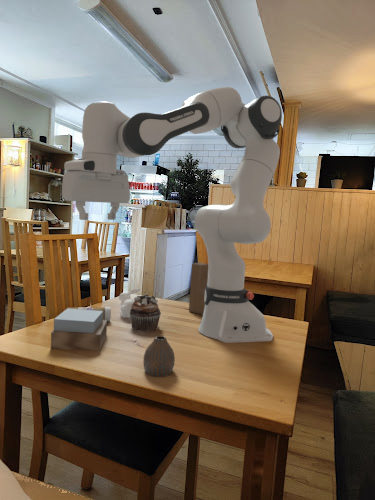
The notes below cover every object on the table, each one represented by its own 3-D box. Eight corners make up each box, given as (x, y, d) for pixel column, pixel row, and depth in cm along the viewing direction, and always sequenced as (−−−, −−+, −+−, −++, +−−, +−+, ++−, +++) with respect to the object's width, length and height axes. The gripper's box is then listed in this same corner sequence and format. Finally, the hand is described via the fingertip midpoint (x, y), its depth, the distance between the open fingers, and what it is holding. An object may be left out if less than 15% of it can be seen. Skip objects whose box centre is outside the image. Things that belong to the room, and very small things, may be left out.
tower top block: (102, 321, 102) (103, 311, 102) (93, 333, 93) (93, 321, 92) (66, 319, 102) (67, 308, 102) (53, 330, 93) (54, 319, 92)
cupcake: (122, 327, 113) (123, 295, 112) (144, 320, 121) (145, 291, 119) (144, 335, 107) (145, 301, 106) (166, 328, 115) (168, 296, 114)
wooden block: (215, 314, 134) (219, 265, 132) (207, 317, 130) (211, 266, 128) (195, 309, 140) (199, 262, 138) (188, 311, 136) (191, 263, 134)
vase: (169, 384, 78) (172, 345, 77) (138, 379, 79) (141, 340, 78) (176, 371, 85) (179, 334, 84) (147, 367, 86) (149, 330, 85)
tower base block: (106, 337, 104) (107, 320, 104) (99, 353, 93) (100, 334, 92) (63, 335, 103) (63, 318, 103) (50, 352, 92) (51, 332, 91)
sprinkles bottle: (66, 304, 114) (110, 303, 118) (66, 312, 117) (109, 311, 121) (66, 317, 111) (111, 316, 115) (66, 325, 114) (110, 323, 118)
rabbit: (116, 312, 128) (117, 286, 127) (136, 311, 131) (138, 285, 130) (123, 321, 119) (125, 292, 118) (145, 319, 122) (147, 291, 121)
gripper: (120, 170, 106) (118, 218, 108) (58, 162, 90) (58, 219, 92) (135, 170, 103) (134, 220, 104) (74, 161, 86) (74, 220, 88)
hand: (98, 219), depth 98 cm, fingers open, 8 cm apart
